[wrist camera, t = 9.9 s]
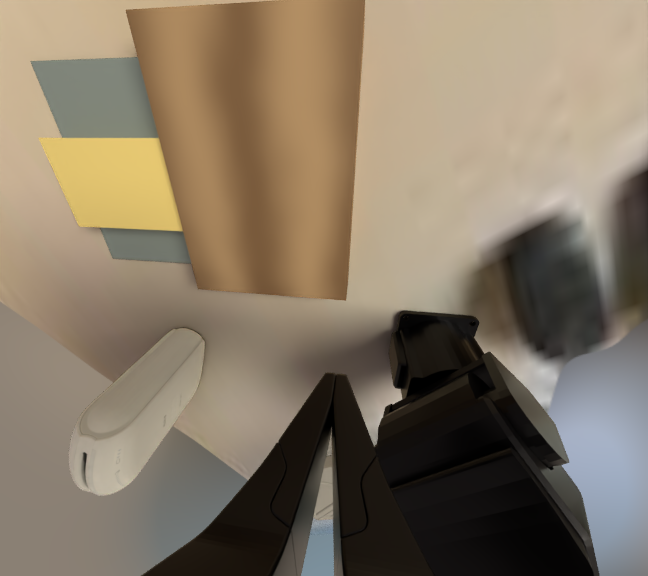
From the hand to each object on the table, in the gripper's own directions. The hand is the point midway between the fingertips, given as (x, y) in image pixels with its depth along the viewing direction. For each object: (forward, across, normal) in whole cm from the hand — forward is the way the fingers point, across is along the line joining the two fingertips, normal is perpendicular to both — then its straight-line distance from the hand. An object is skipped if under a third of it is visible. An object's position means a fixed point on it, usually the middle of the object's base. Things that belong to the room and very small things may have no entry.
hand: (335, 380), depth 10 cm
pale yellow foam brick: (+12, +17, -6) cm, 21 cm away
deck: (+12, +6, -6) cm, 15 cm away
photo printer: (+12, +18, +13) cm, 25 cm away
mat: (+12, +17, -6) cm, 22 cm away
